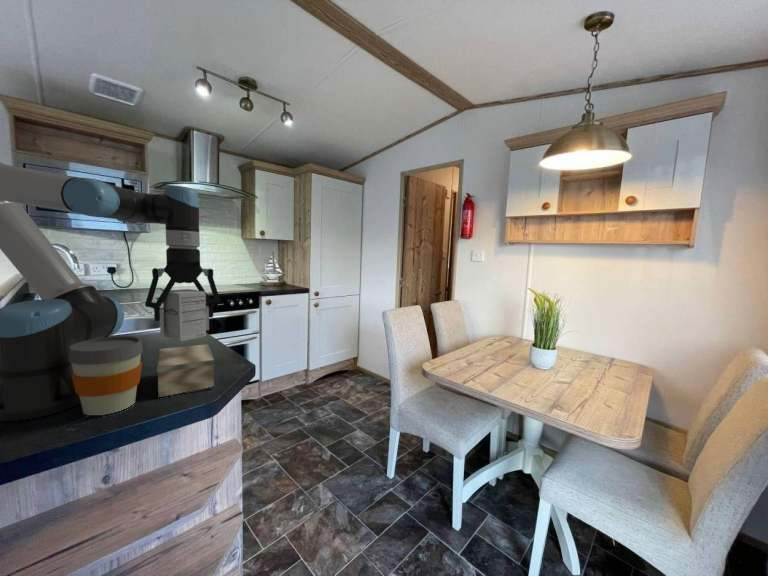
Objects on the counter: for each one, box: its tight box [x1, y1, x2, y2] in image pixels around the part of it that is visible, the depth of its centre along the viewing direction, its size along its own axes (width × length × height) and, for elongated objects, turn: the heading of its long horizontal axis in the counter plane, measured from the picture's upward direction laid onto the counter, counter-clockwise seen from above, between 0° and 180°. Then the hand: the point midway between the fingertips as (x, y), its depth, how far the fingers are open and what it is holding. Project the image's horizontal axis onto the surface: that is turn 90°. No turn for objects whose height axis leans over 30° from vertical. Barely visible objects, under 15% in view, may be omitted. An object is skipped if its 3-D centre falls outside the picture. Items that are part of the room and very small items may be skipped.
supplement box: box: [162, 288, 207, 342], centre depth 86 cm, size 7×7×13 cm
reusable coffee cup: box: [69, 335, 144, 415], centre depth 72 cm, size 13×13×15 cm
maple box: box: [156, 343, 215, 398], centre depth 87 cm, size 12×16×8 cm
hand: (185, 331), depth 86 cm, fingers closed on supplement box, 10 cm apart
